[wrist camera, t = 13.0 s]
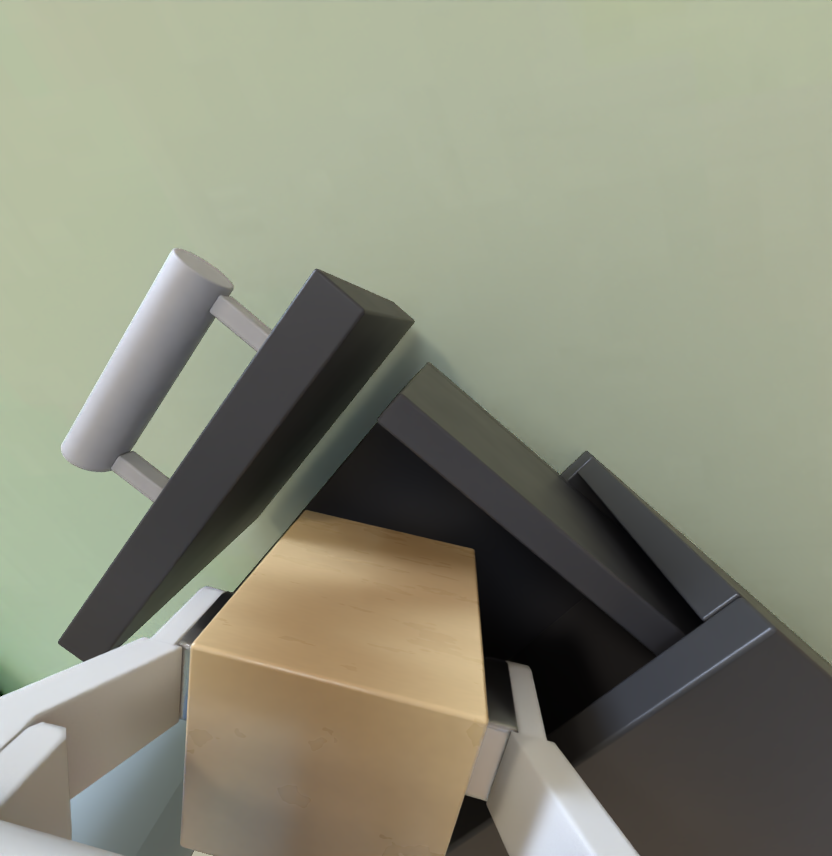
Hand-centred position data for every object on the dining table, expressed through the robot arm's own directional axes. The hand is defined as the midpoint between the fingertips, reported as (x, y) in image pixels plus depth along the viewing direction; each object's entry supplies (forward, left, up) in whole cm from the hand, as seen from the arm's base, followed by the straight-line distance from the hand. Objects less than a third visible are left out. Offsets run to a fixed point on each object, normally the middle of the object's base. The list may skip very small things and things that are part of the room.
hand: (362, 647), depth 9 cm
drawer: (0, -1, -8) cm, 8 cm away
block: (0, 0, -2) cm, 2 cm away
